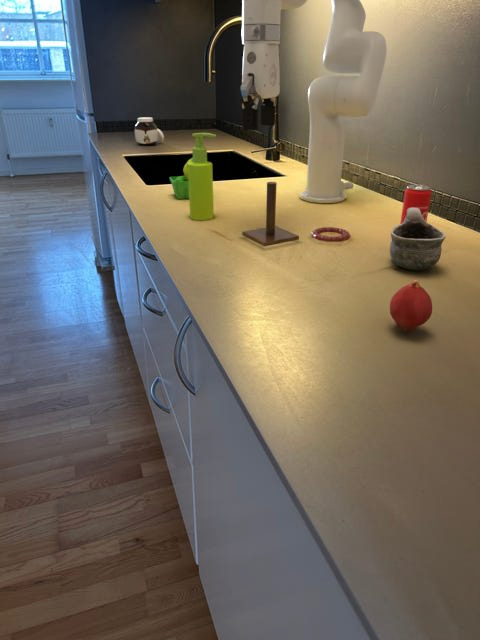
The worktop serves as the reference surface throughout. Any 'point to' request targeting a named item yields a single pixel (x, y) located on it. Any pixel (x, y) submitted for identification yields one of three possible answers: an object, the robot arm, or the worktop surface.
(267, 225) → the stand
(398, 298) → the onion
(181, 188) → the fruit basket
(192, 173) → the soap dispenser
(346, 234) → the ring
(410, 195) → the beverage can
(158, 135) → the spread jar
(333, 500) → the worktop surface
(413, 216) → the grey stoneware bowl
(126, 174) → the worktop surface
